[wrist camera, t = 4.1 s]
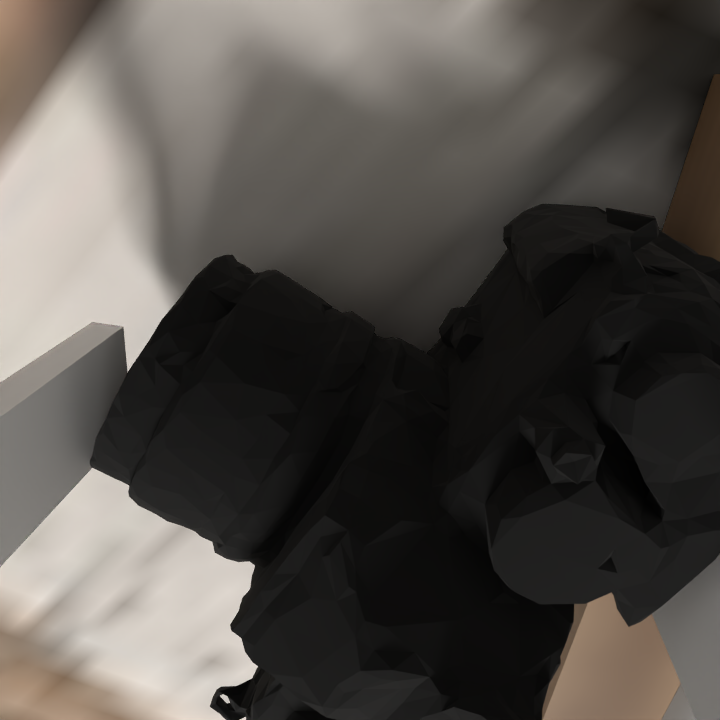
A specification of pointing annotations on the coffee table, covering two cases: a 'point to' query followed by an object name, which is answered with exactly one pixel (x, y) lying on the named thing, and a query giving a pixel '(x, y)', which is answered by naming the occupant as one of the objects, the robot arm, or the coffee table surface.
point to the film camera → (437, 466)
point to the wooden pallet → (600, 617)
